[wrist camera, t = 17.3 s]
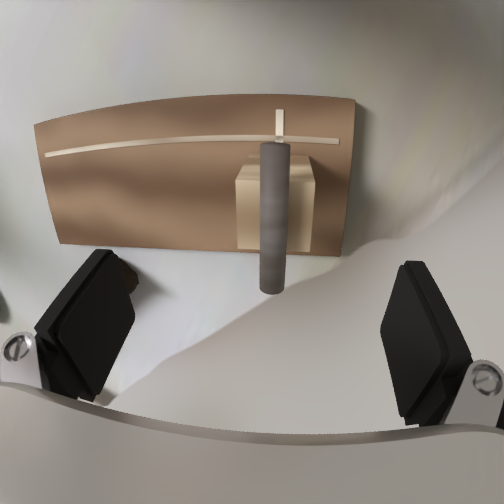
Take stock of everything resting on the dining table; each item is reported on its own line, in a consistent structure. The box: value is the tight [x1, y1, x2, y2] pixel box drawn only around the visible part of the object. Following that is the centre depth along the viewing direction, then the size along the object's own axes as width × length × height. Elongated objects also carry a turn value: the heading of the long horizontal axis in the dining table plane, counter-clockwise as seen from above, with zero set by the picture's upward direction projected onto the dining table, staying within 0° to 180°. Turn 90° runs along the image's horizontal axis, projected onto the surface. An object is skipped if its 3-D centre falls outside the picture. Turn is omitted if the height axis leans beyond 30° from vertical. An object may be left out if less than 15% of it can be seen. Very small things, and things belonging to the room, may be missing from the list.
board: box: [34, 94, 355, 257], centre depth 23 cm, size 12×26×2 cm, turn 91°
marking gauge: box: [235, 142, 315, 295], centre depth 18 cm, size 8×4×7 cm, turn 1°
